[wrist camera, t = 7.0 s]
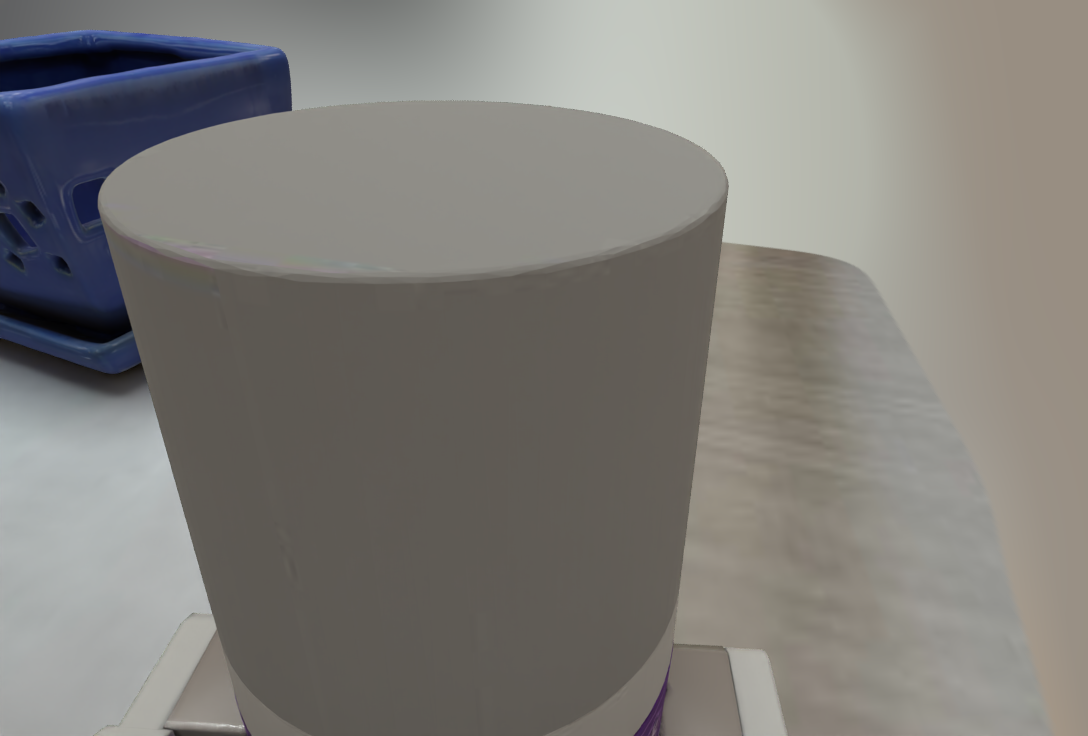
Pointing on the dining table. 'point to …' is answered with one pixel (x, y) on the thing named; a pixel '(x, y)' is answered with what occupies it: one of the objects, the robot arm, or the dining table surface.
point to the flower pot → (99, 166)
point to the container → (430, 405)
